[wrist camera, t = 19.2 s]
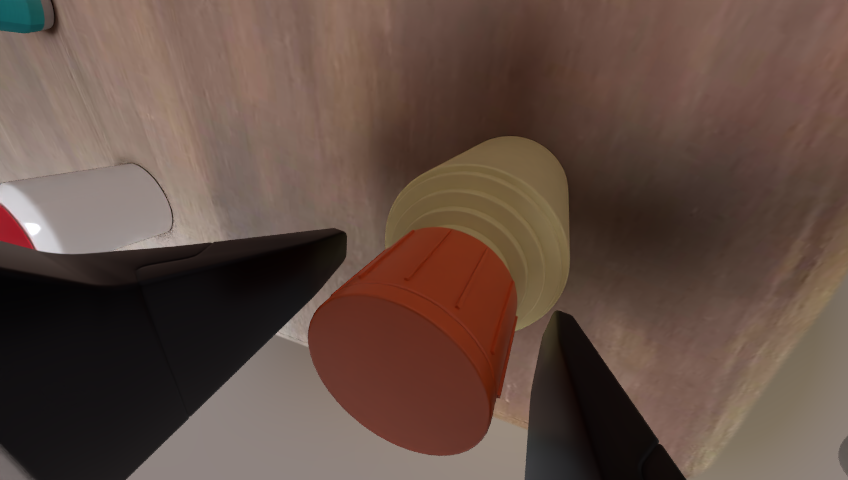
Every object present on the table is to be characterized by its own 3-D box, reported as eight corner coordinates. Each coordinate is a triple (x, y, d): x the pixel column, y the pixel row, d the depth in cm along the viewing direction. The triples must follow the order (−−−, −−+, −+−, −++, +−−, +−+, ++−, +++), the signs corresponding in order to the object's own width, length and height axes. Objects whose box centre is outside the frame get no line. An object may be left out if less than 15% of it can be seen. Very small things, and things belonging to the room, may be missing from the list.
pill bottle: (116, 188, 34) (-50, 221, 25) (129, 147, 30) (-64, 169, 21) (162, 243, 35) (18, 295, 26) (181, 212, 31) (17, 260, 22)
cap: (511, 222, 7) (476, 302, 4) (522, 356, 8) (501, 481, 6) (371, 228, 9) (281, 287, 6) (400, 337, 10) (337, 427, 7)
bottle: (597, 177, 15) (670, 362, 4) (521, 266, 18) (462, 489, 8) (486, 112, 16) (327, 140, 5) (434, 210, 19) (275, 343, 9)
